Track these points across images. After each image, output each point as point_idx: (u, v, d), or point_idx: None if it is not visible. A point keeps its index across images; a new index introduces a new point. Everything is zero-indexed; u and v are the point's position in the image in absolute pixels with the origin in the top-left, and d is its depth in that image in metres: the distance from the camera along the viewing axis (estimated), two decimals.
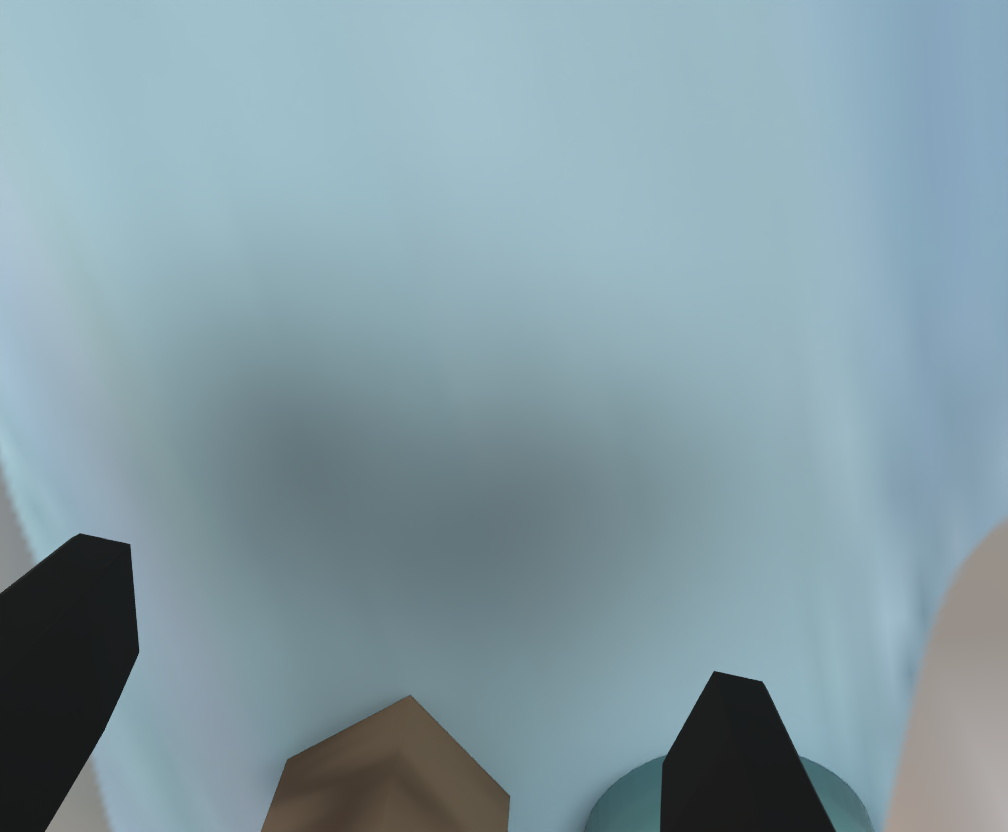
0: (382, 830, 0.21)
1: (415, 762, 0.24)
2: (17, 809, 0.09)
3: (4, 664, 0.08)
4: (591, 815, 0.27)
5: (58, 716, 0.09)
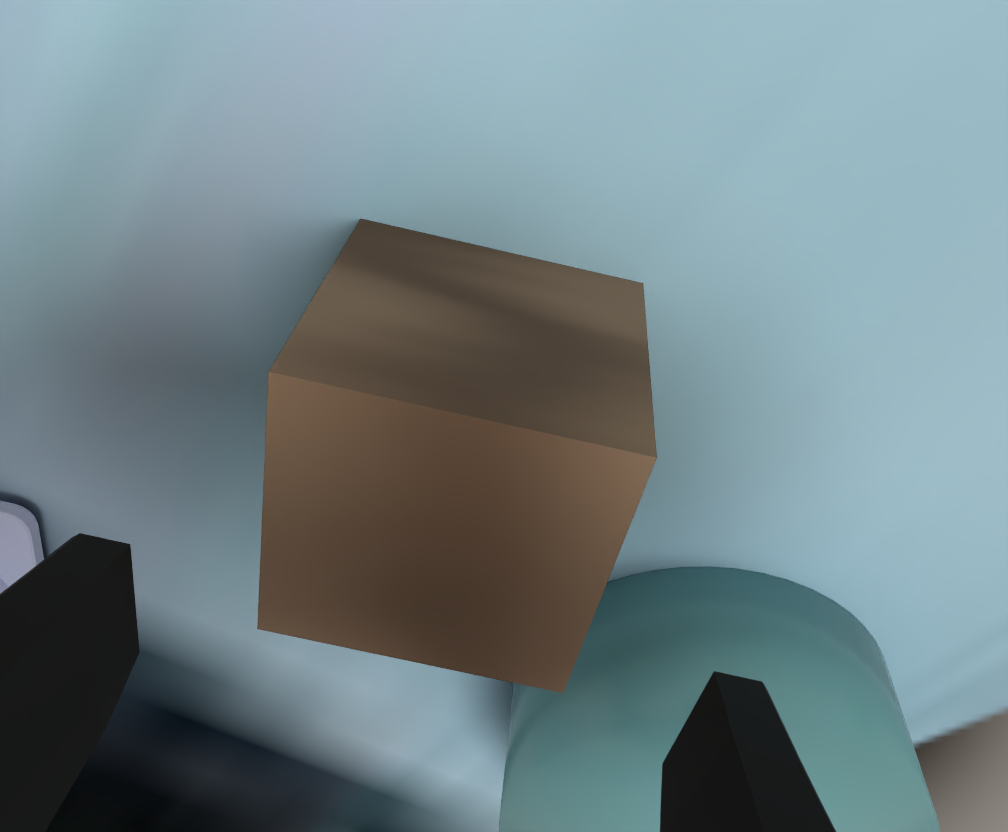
0: (653, 442, 0.11)
1: None
2: (17, 809, 0.09)
3: (4, 664, 0.08)
4: (629, 579, 0.19)
5: (58, 716, 0.09)
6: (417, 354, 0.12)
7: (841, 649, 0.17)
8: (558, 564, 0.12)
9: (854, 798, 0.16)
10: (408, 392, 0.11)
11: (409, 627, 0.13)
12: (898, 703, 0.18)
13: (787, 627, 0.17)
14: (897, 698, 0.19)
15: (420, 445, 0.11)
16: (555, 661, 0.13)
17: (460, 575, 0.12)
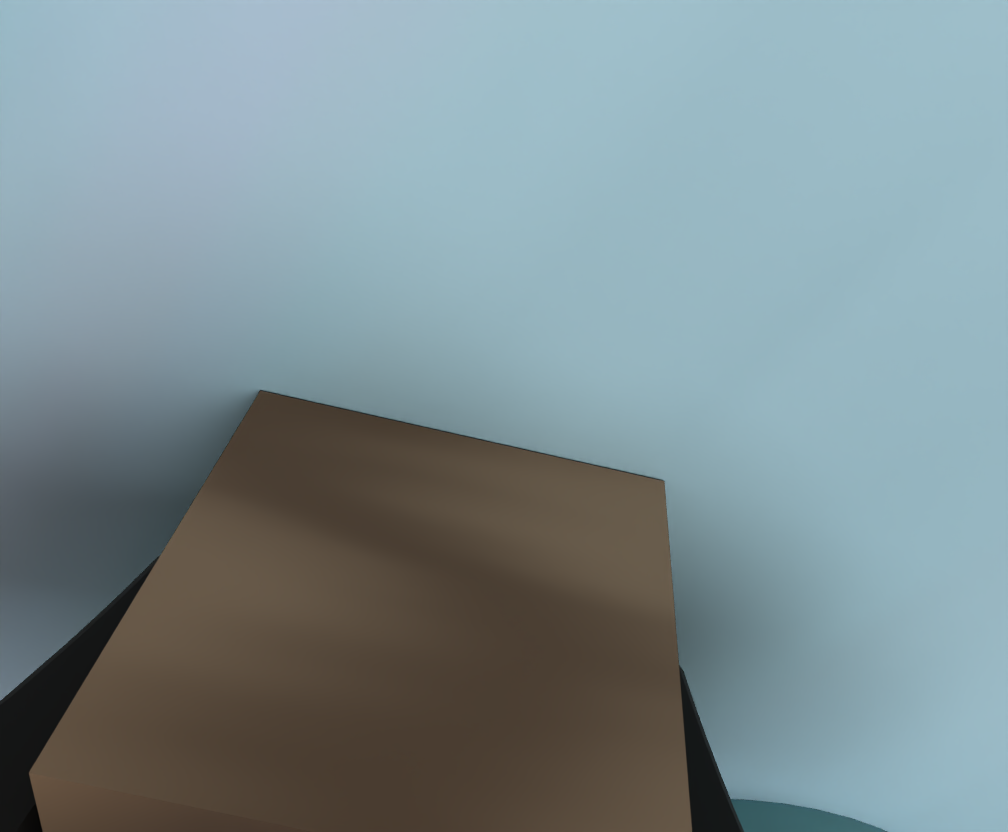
0: None
1: None
2: None
3: None
4: None
5: None
6: (304, 687, 0.07)
7: None
8: None
9: None
10: (275, 793, 0.06)
11: None
12: None
13: None
14: None
15: None
16: None
17: None
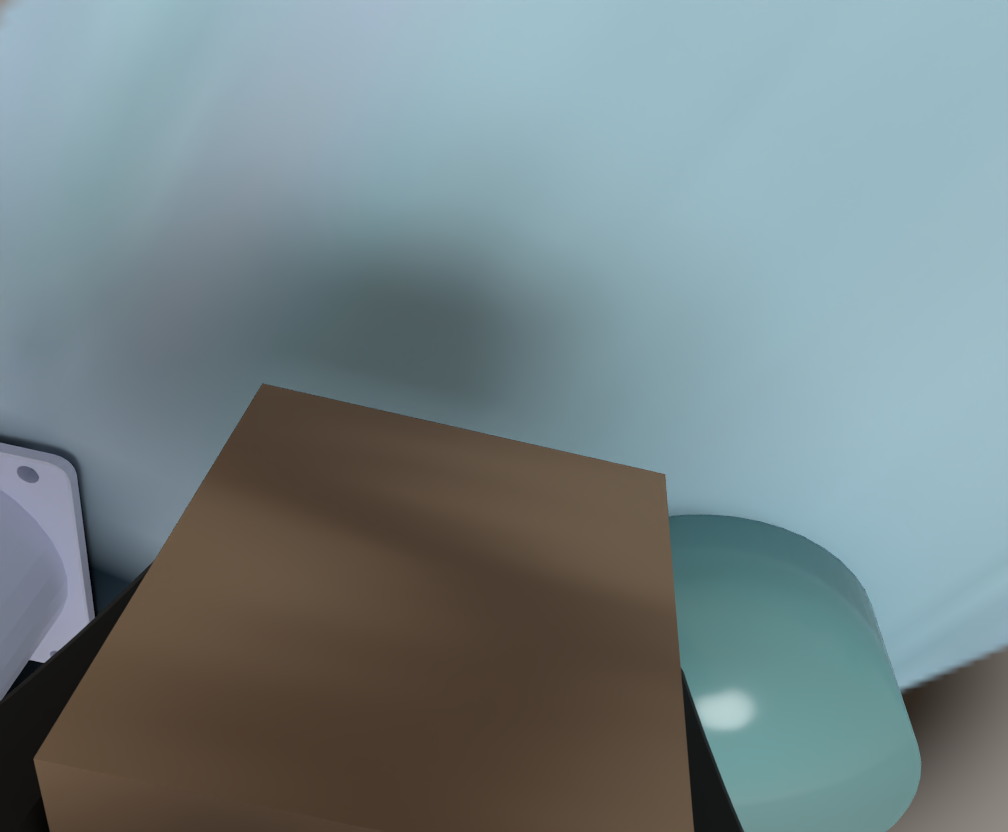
0: None
1: None
2: None
3: None
4: None
5: None
6: (308, 677, 0.07)
7: (830, 590, 0.19)
8: None
9: (840, 724, 0.18)
10: (279, 780, 0.06)
11: None
12: (884, 644, 0.20)
13: (780, 568, 0.19)
14: None
15: None
16: None
17: None
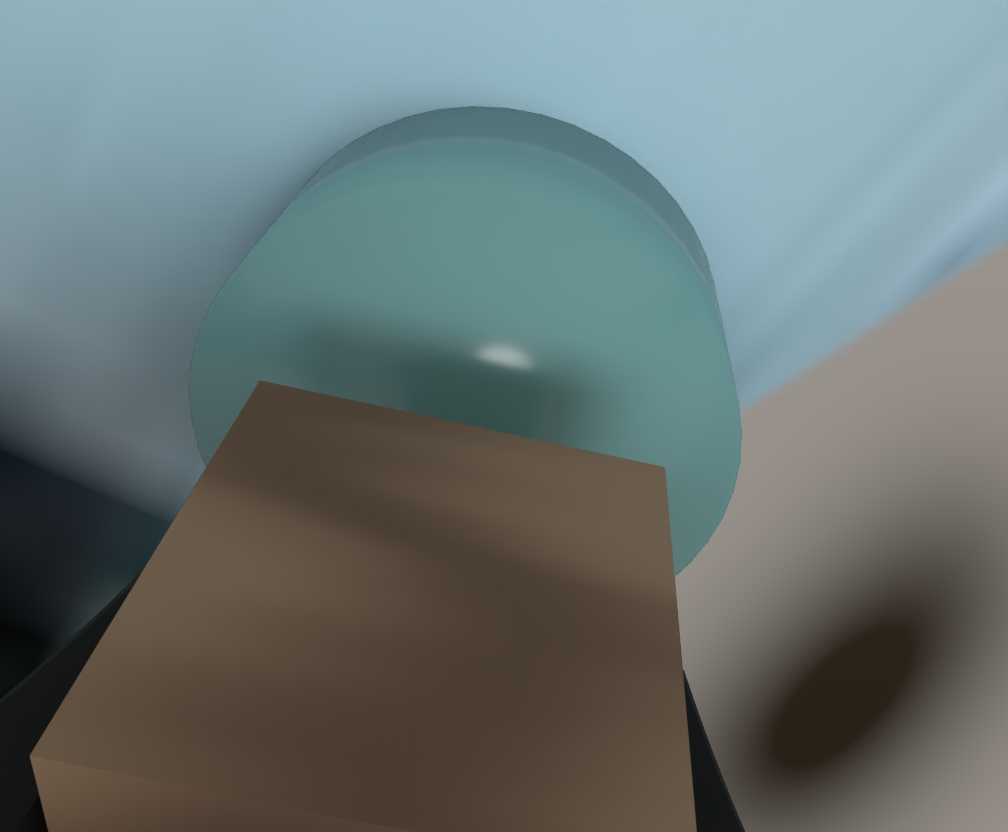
0: None
1: None
2: None
3: None
4: (374, 131, 0.15)
5: None
6: (305, 671, 0.07)
7: (623, 183, 0.13)
8: None
9: (617, 339, 0.12)
10: (277, 773, 0.06)
11: None
12: (709, 282, 0.14)
13: (551, 147, 0.13)
14: (712, 285, 0.15)
15: None
16: None
17: None
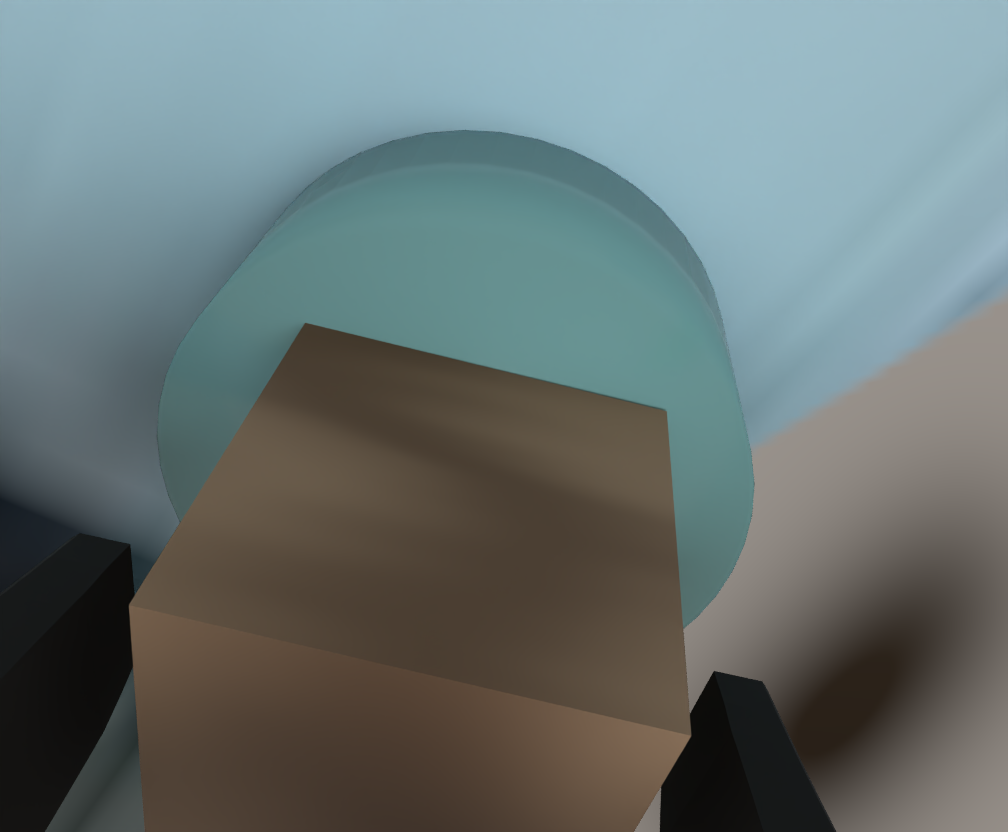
0: (686, 701, 0.08)
1: None
2: (17, 809, 0.09)
3: (4, 664, 0.08)
4: (359, 154, 0.14)
5: (58, 716, 0.09)
6: (355, 554, 0.08)
7: (627, 213, 0.13)
8: None
9: (622, 385, 0.11)
10: (334, 631, 0.08)
11: None
12: (717, 318, 0.13)
13: (549, 175, 0.12)
14: (720, 320, 0.14)
15: (352, 701, 0.08)
16: None
17: None
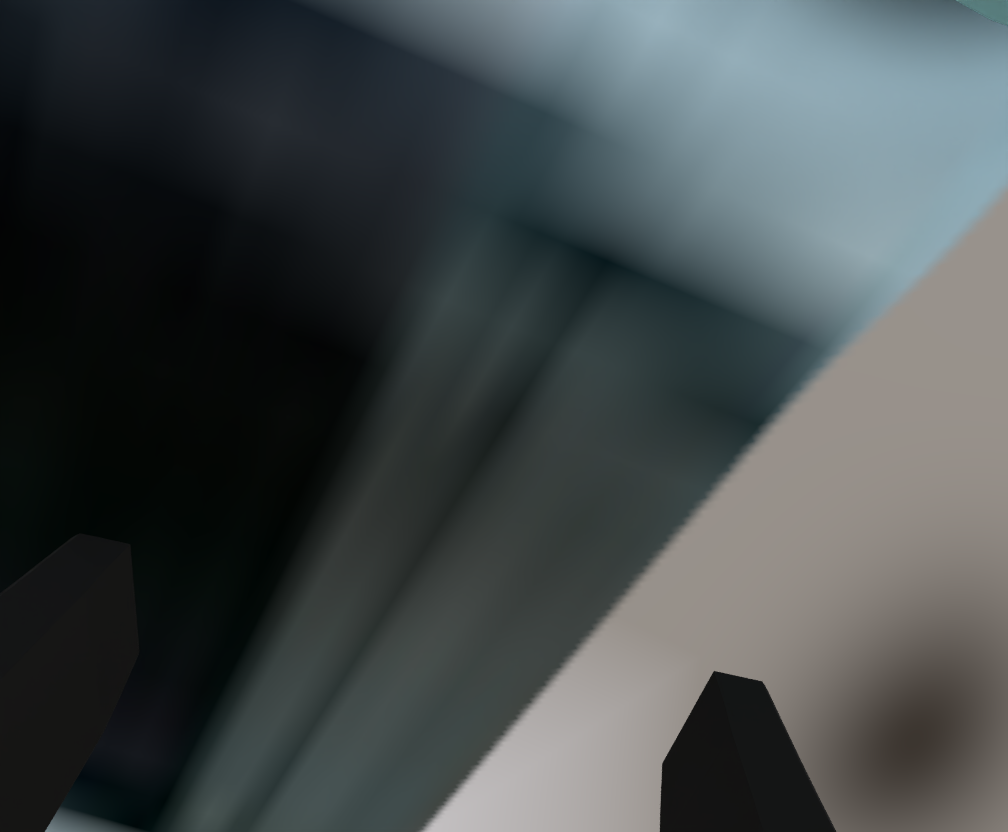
0: None
1: None
2: (17, 809, 0.09)
3: (4, 664, 0.08)
4: None
5: (58, 716, 0.09)
6: None
7: None
8: None
9: None
10: None
11: None
12: None
13: None
14: None
15: None
16: None
17: None
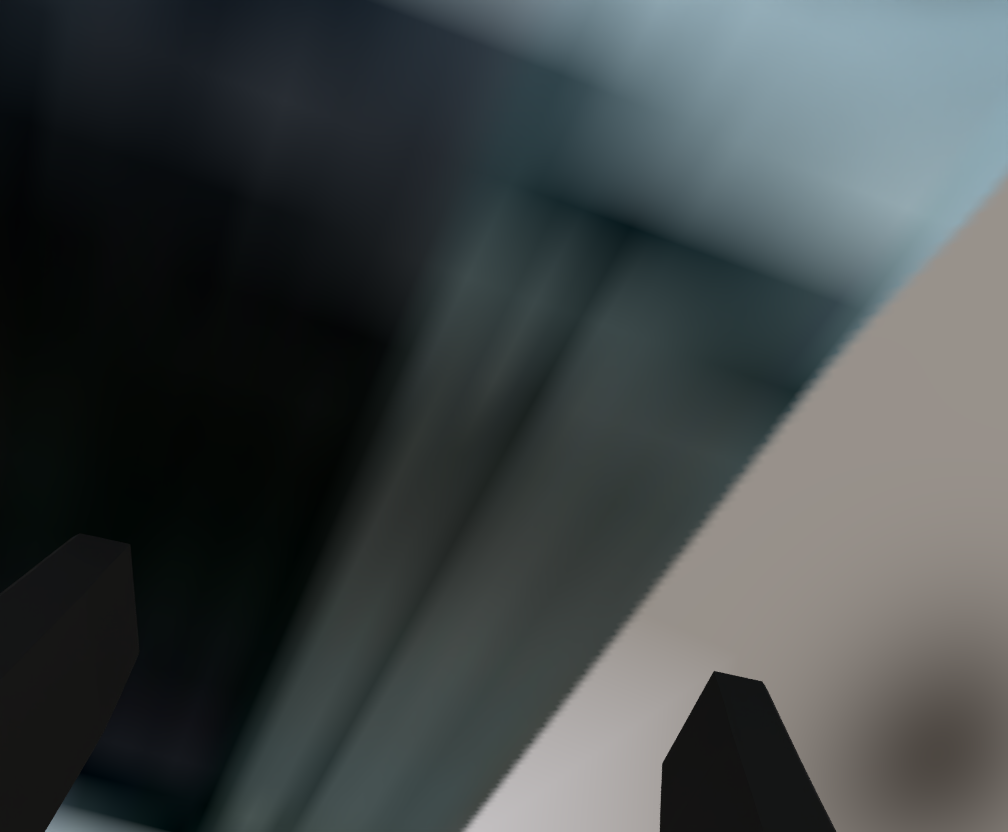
0: None
1: None
2: (17, 809, 0.09)
3: (4, 664, 0.08)
4: None
5: (58, 716, 0.09)
6: None
7: None
8: None
9: None
10: None
11: None
12: None
13: None
14: None
15: None
16: None
17: None
